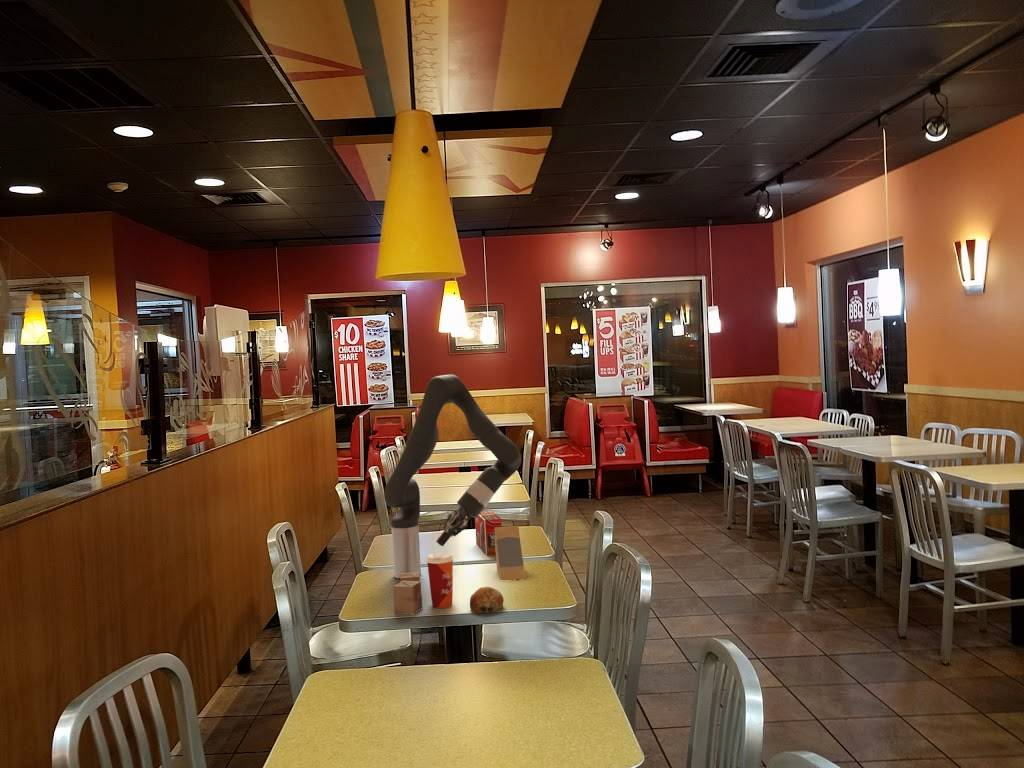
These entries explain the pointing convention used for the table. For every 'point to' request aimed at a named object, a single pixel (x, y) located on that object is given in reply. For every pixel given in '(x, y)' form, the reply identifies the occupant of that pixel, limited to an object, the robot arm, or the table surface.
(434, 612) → the table surface
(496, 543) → the sandwich container
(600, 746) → the table surface
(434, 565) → the coffee cup
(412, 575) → the two-dot block
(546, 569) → the table surface
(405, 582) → the three-dot block
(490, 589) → the bread roll
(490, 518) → the ice cream box
